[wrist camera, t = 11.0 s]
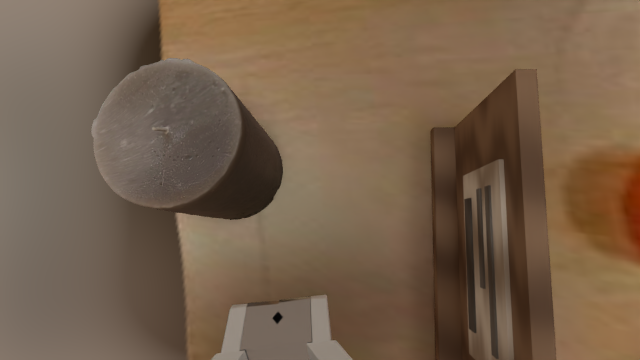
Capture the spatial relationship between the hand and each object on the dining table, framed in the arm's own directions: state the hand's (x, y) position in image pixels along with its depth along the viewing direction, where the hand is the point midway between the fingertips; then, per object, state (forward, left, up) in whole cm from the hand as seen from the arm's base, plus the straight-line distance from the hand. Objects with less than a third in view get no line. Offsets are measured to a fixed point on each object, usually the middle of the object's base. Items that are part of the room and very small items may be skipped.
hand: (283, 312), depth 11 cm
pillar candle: (-8, -9, -23) cm, 26 cm away
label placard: (0, +13, -22) cm, 26 cm away
